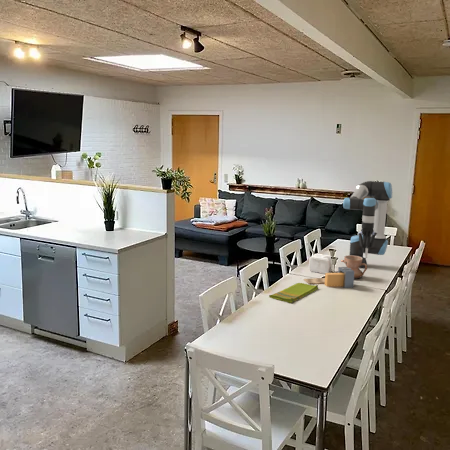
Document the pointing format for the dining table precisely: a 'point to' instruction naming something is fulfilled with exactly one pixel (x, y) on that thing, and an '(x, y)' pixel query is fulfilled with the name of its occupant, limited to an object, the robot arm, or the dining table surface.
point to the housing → (347, 276)
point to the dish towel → (294, 292)
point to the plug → (334, 279)
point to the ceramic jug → (355, 265)
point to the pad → (315, 281)
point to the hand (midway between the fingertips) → (365, 257)
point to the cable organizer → (320, 263)
